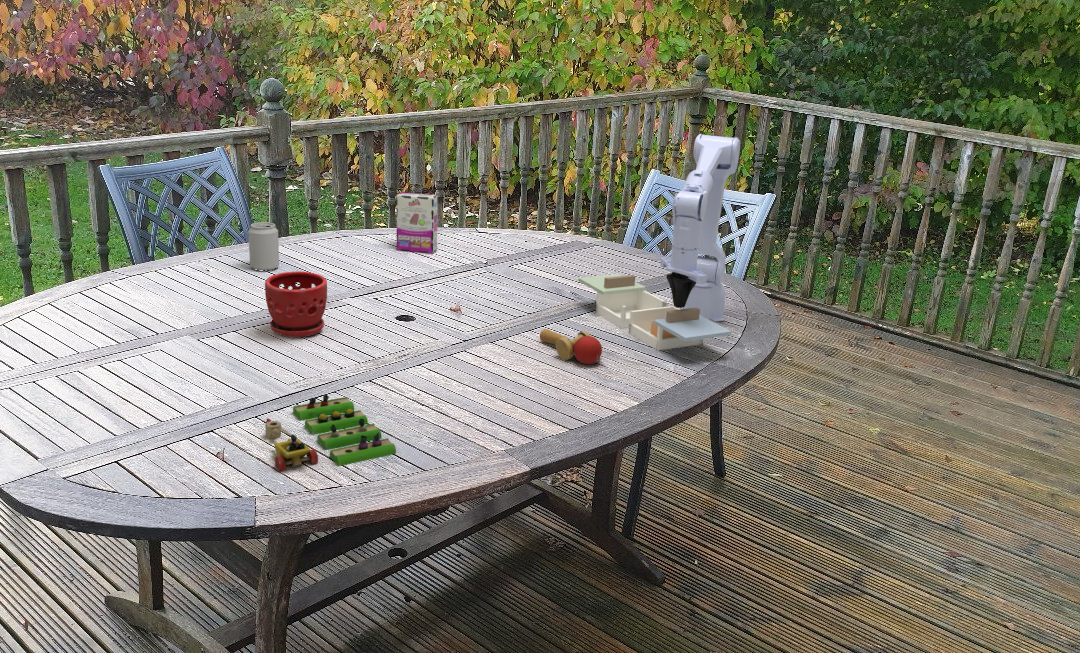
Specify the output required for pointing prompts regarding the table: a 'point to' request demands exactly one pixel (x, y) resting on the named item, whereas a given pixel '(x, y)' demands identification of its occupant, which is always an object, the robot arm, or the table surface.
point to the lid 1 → (612, 283)
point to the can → (263, 246)
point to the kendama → (574, 346)
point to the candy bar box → (416, 222)
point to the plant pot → (296, 303)
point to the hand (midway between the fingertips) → (679, 306)
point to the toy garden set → (330, 434)
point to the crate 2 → (642, 329)
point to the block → (655, 329)
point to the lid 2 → (690, 325)
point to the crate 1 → (625, 305)
